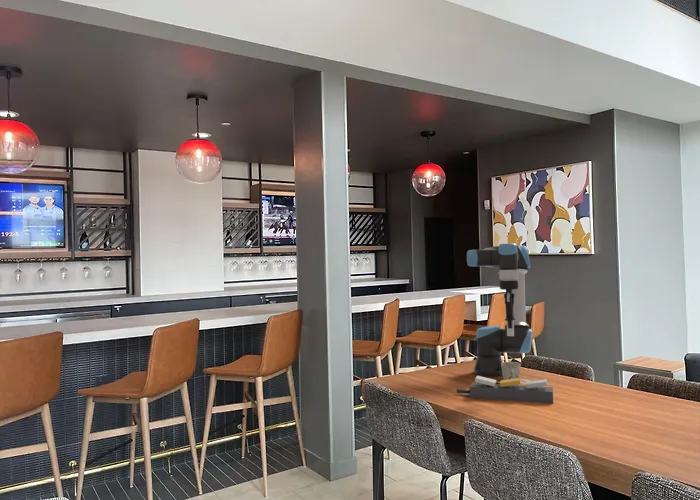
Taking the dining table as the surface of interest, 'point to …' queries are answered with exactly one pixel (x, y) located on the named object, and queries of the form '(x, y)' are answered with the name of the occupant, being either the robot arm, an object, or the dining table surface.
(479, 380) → the block
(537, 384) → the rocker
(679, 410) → the dining table surface
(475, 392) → the power strip
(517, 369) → the mug
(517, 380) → the block
